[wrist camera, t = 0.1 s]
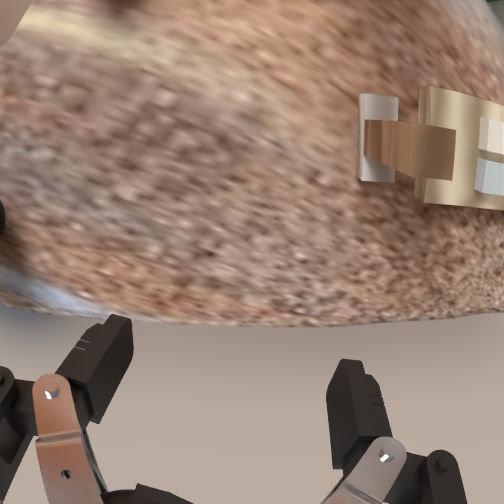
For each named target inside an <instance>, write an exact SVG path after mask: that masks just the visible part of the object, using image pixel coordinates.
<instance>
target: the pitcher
mask: <svg viewBox="0 0 504 504" xmlns="http://www.w3.org/2000/svg"><path fill="white" fill-rule="evenodd" d="M4 226H5V215H4V210H3V207H2V204H1V201H0V236H1V234H2V233H3V230H4Z"/></svg>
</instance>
